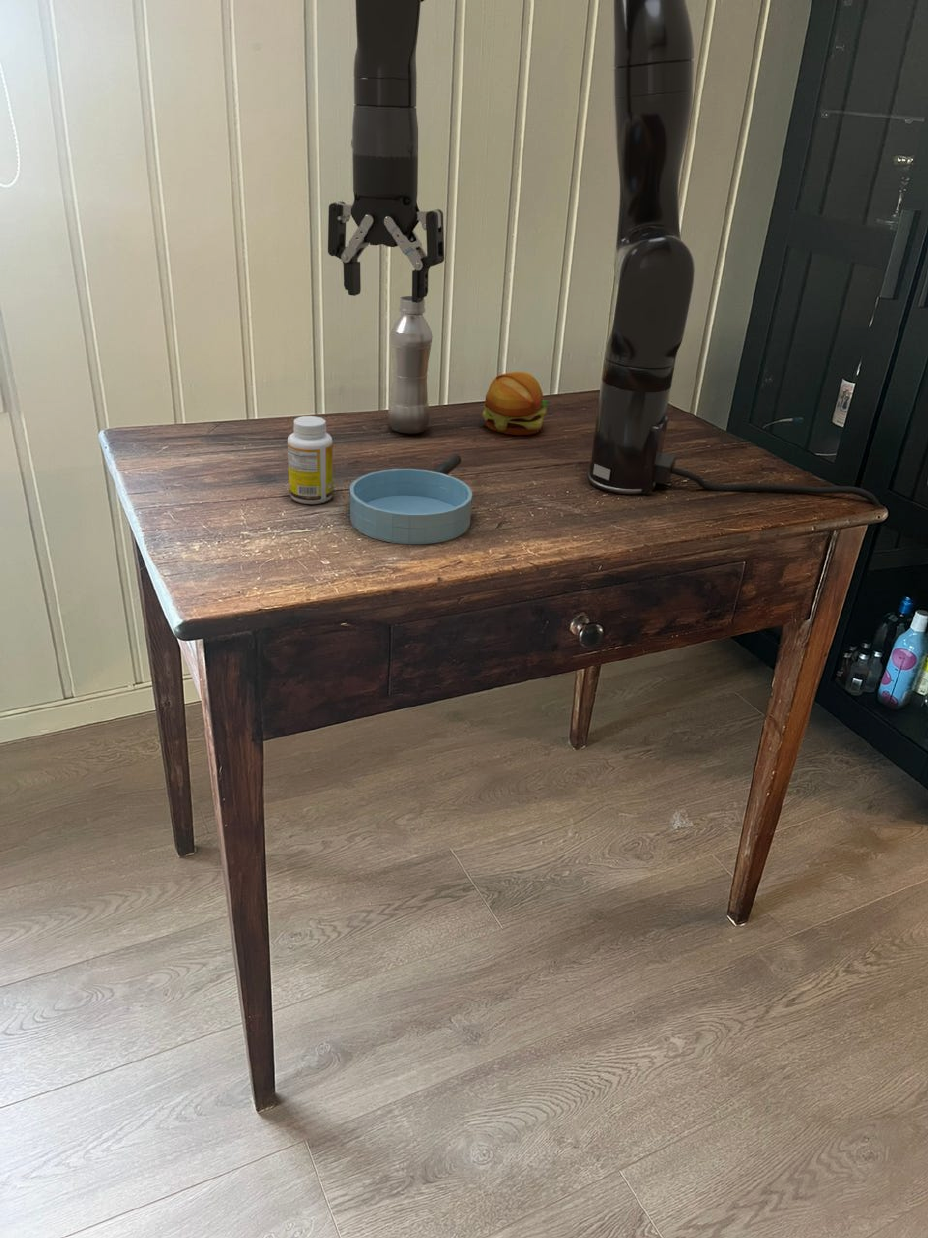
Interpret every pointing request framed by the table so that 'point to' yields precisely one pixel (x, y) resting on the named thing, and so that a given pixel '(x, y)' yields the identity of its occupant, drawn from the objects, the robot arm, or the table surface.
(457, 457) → the pan handle
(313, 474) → the supplement bottle
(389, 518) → the pan
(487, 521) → the table surface
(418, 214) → the robot arm
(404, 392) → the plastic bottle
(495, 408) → the cheeseburger
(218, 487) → the table surface
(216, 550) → the table surface
